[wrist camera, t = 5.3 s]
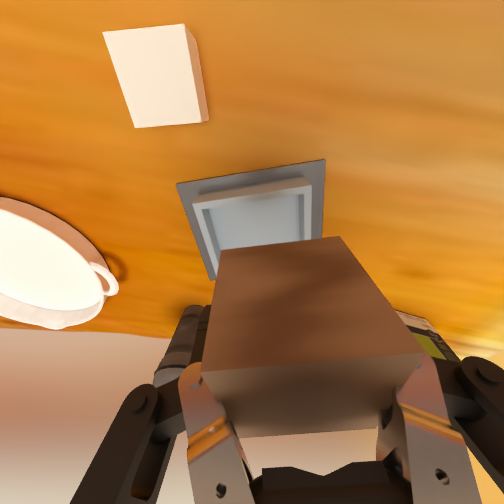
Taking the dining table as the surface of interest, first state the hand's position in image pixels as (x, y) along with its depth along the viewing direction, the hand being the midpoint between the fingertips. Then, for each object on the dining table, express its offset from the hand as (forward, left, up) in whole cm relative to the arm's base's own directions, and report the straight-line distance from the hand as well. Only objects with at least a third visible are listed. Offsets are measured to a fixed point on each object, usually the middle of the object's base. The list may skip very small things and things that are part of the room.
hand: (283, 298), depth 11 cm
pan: (+36, +6, -18) cm, 41 cm away
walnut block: (0, 0, -1) cm, 1 cm away
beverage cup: (+15, +21, -18) cm, 32 cm away
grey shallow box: (+1, +5, -18) cm, 19 cm away
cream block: (+7, -12, -18) cm, 23 cm away
